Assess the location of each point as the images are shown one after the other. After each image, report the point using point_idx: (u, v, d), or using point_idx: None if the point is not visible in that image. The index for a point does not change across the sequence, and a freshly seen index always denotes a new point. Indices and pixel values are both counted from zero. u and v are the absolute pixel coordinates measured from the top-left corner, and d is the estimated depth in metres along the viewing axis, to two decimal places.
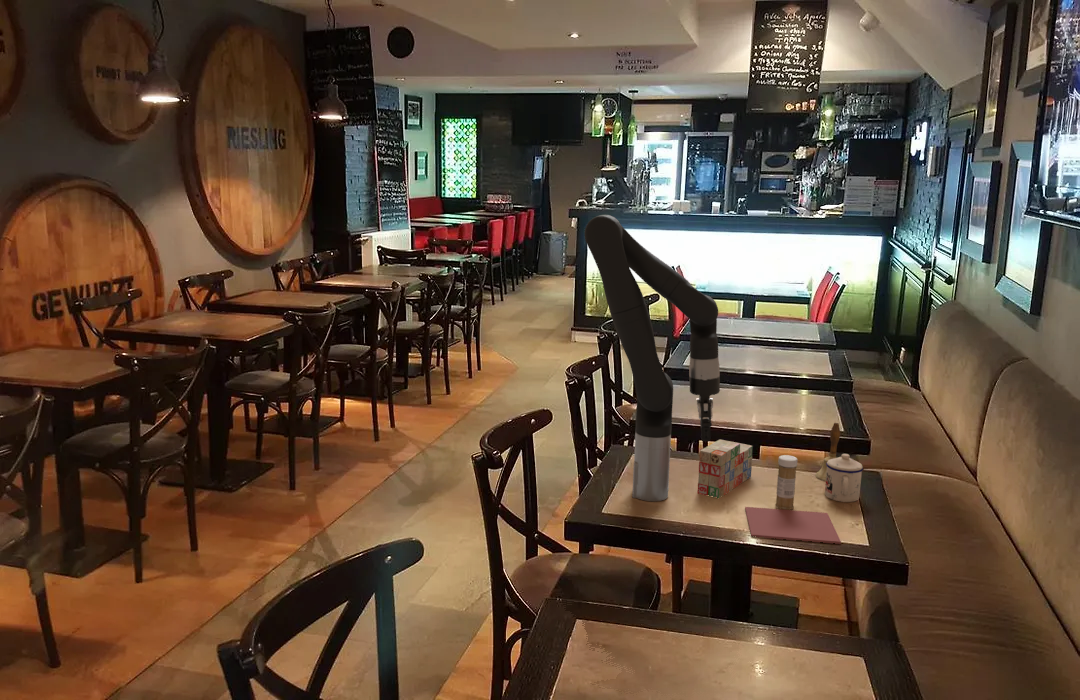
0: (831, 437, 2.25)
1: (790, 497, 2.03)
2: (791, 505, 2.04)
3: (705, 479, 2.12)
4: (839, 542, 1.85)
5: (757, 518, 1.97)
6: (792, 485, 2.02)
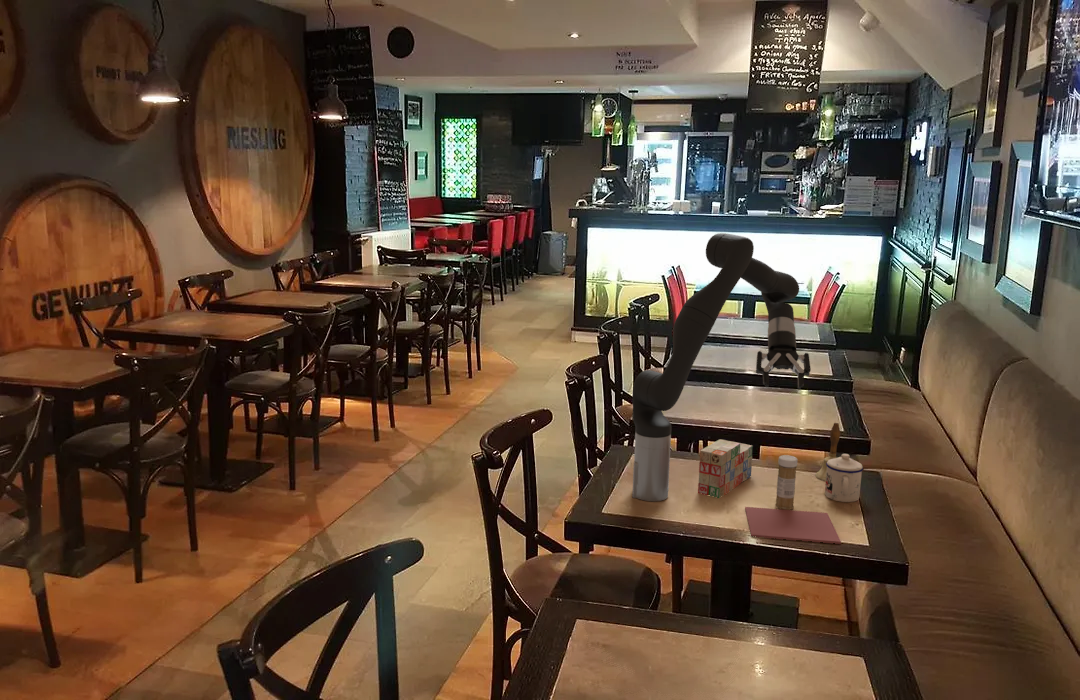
0: (831, 437, 2.25)
1: (790, 497, 2.03)
2: (791, 505, 2.04)
3: (706, 478, 2.12)
4: (839, 542, 1.85)
5: (757, 518, 1.97)
6: (792, 485, 2.02)
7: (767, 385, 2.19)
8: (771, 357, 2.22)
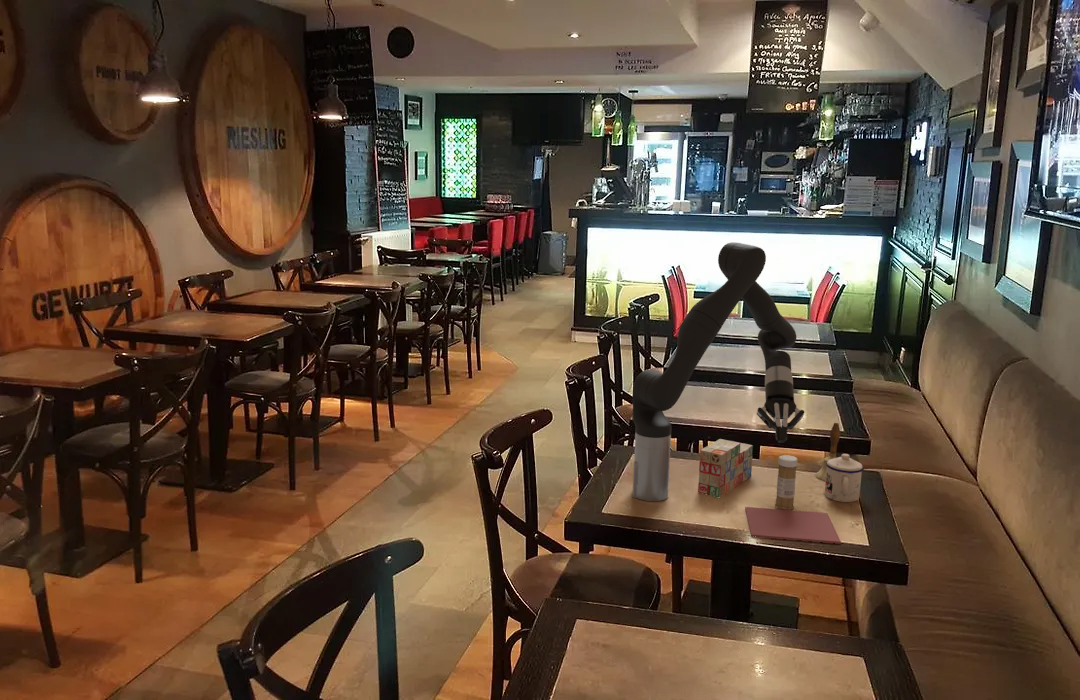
0: (831, 437, 2.25)
1: (790, 497, 2.03)
2: (791, 505, 2.04)
3: (706, 478, 2.13)
4: (839, 542, 1.85)
5: (757, 518, 1.97)
6: (792, 485, 2.02)
7: (780, 441, 2.14)
8: (771, 406, 2.19)
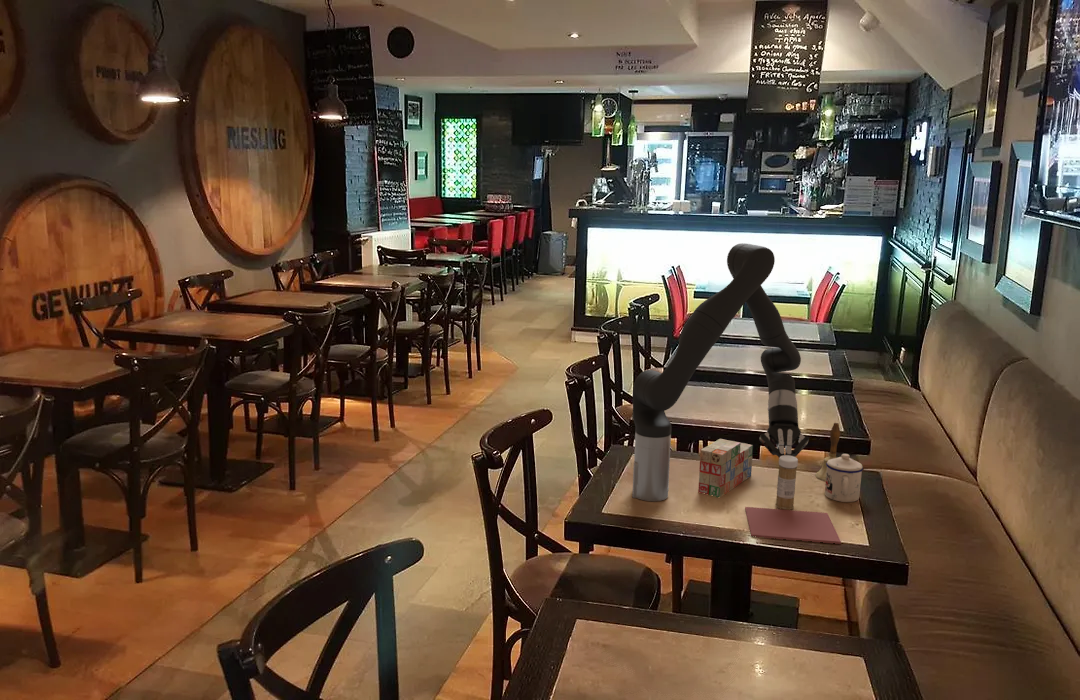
0: (831, 437, 2.25)
1: (790, 497, 2.03)
2: (791, 505, 2.04)
3: (706, 478, 2.13)
4: (839, 542, 1.85)
5: (757, 518, 1.97)
6: (792, 486, 2.02)
7: None
8: (775, 432, 2.11)
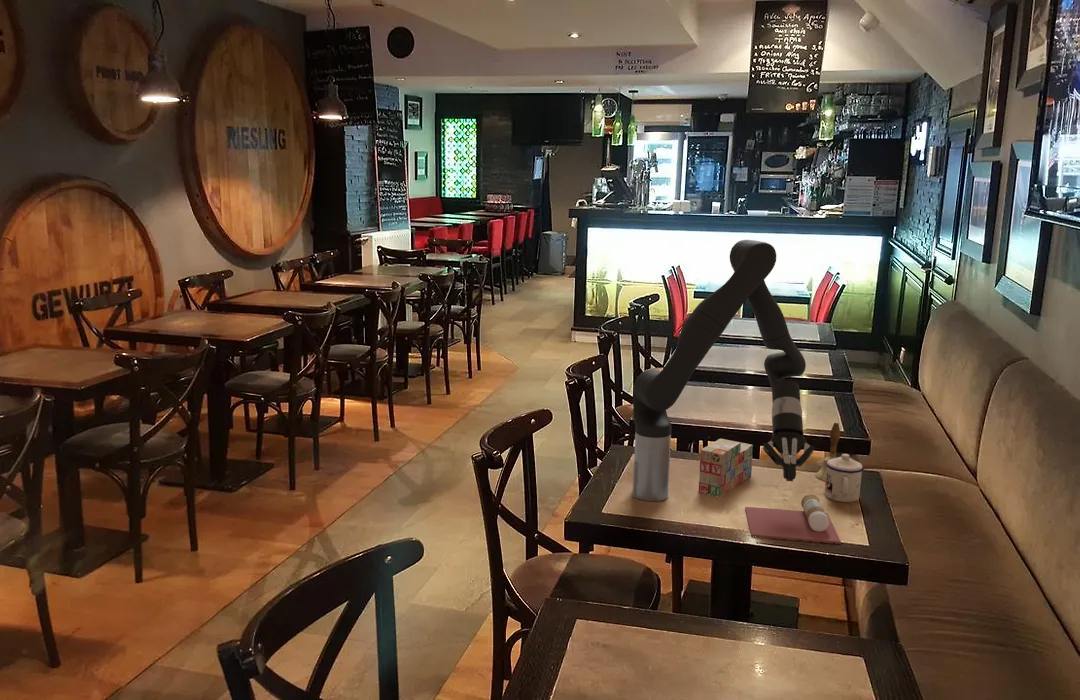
0: (831, 437, 2.25)
1: (805, 501, 1.99)
2: (803, 500, 2.01)
3: (706, 478, 2.13)
4: (839, 542, 1.85)
5: (757, 518, 1.97)
6: (806, 507, 1.96)
7: (788, 479, 1.98)
8: (779, 441, 2.03)
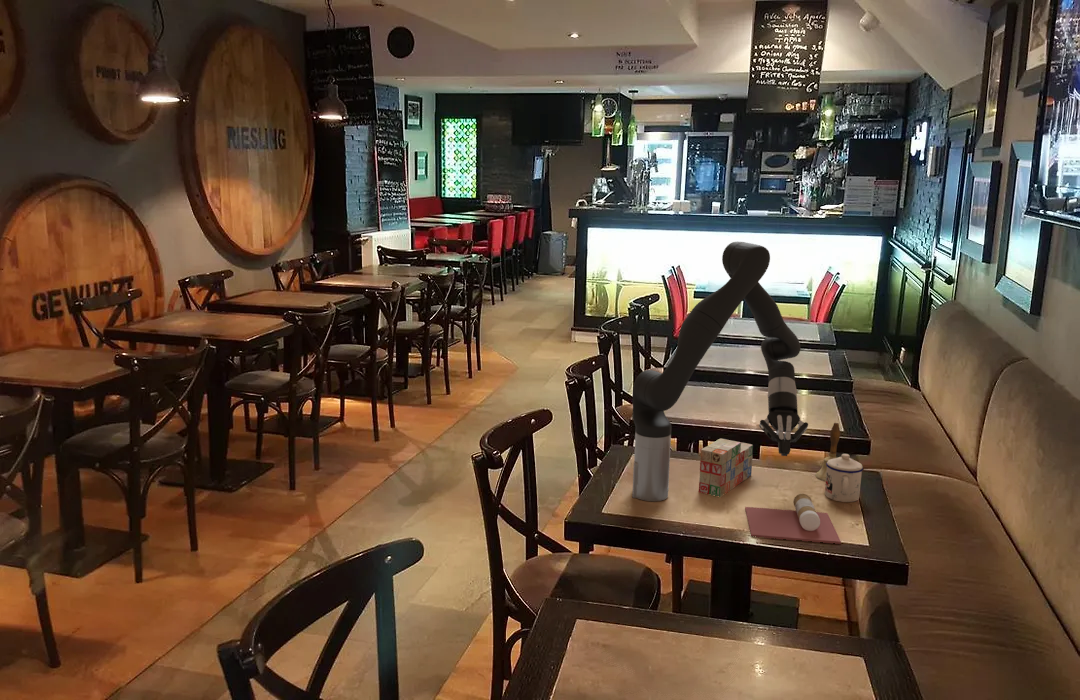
0: (831, 437, 2.25)
1: (795, 508, 1.99)
2: (795, 506, 2.02)
3: (707, 477, 2.13)
4: (839, 542, 1.85)
5: (757, 518, 1.97)
6: (797, 514, 1.97)
7: (783, 454, 2.10)
8: (774, 418, 2.15)
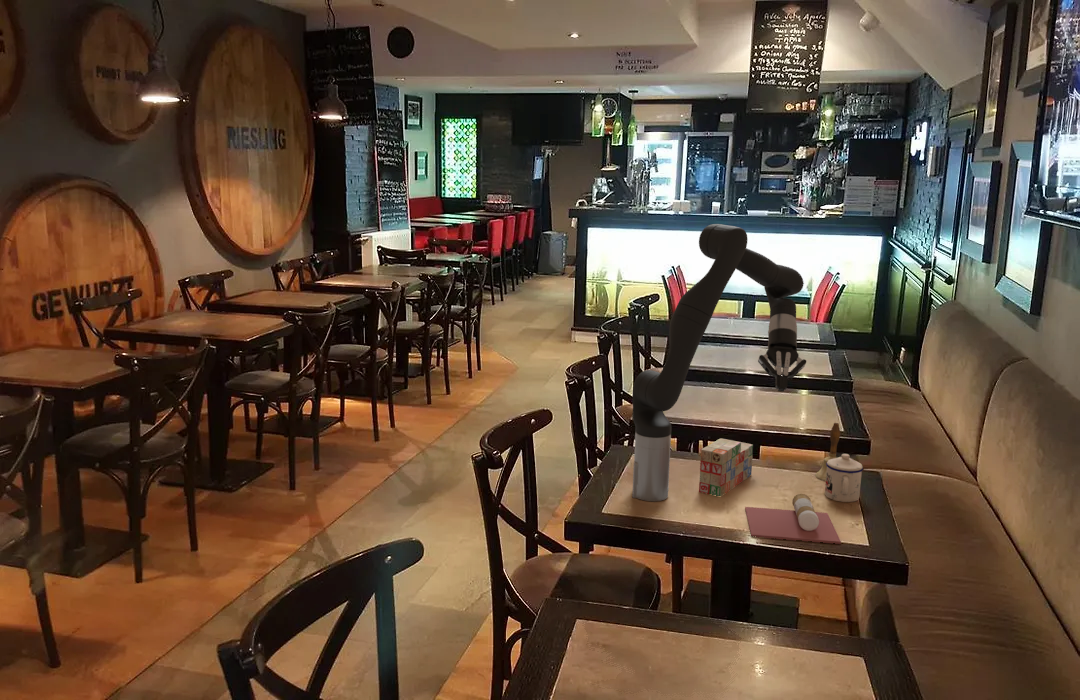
0: (831, 437, 2.25)
1: (794, 508, 2.00)
2: None
3: (707, 477, 2.13)
4: (839, 542, 1.85)
5: (757, 518, 1.97)
6: None
7: (780, 389, 2.13)
8: (773, 354, 2.17)
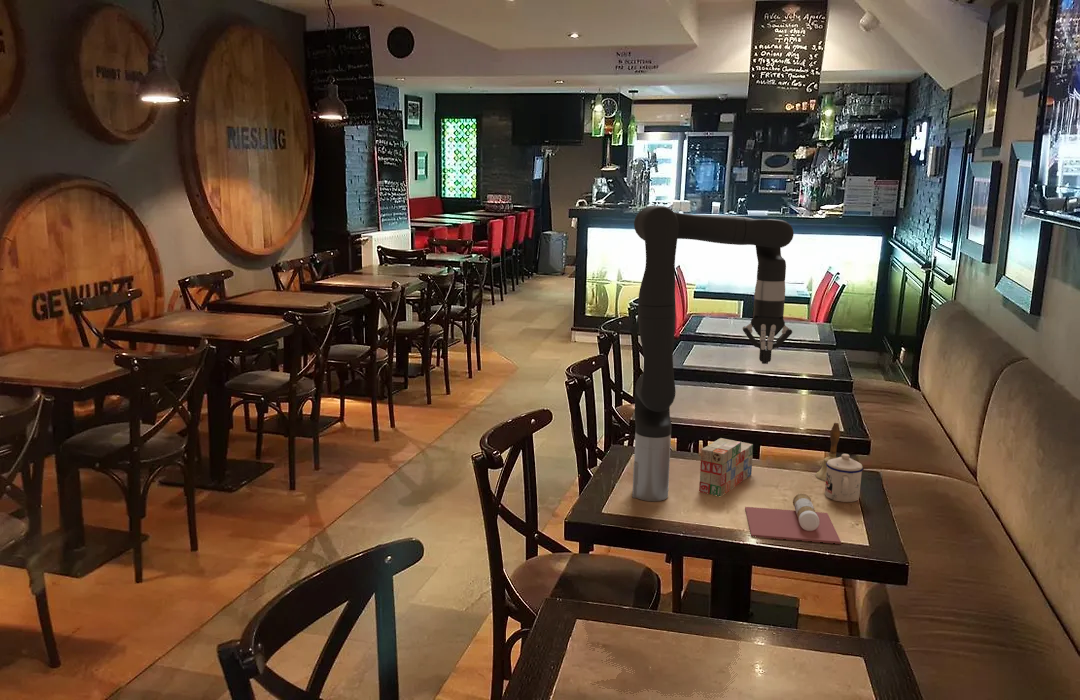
0: (831, 437, 2.25)
1: None
2: None
3: (707, 477, 2.13)
4: (839, 542, 1.85)
5: (757, 518, 1.97)
6: None
7: None
8: (758, 326, 2.08)
